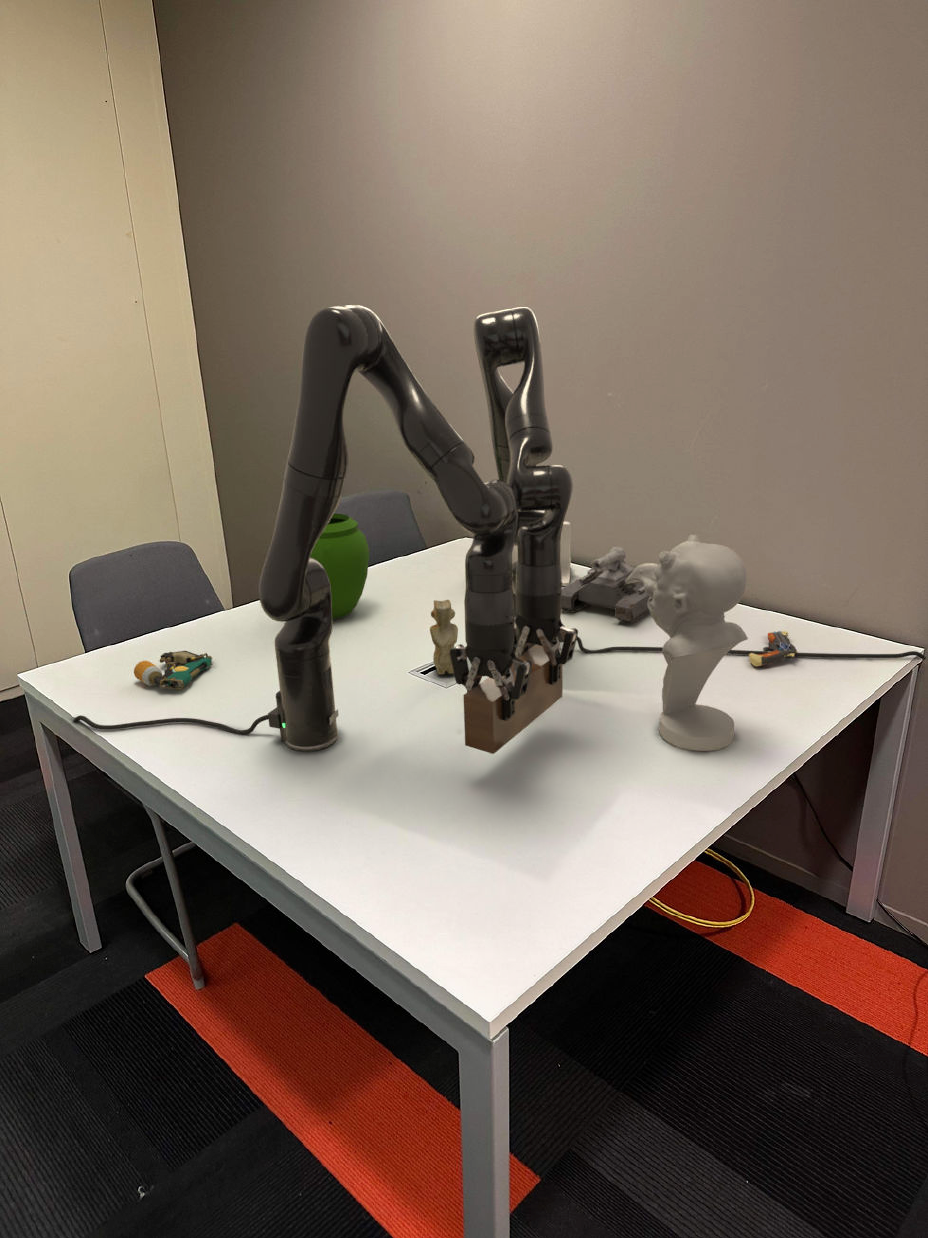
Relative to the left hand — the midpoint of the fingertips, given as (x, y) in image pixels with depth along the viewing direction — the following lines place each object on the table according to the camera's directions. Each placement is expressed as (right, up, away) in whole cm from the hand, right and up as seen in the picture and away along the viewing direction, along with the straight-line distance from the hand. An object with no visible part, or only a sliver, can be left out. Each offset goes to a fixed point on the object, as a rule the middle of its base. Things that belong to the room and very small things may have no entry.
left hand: (491, 713), depth 135 cm
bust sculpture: (+34, -5, +18) cm, 38 cm away
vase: (-37, +16, +79) cm, 88 cm away
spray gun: (-65, +3, +46) cm, 79 cm away
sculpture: (-8, +4, +44) cm, 45 cm away
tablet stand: (+13, +27, +104) cm, 108 cm away
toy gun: (+62, +8, +49) cm, 79 cm away
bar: (+4, -2, +8) cm, 9 cm away
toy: (+34, +18, +79) cm, 88 cm away
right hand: (+9, +5, +12) cm, 16 cm away
